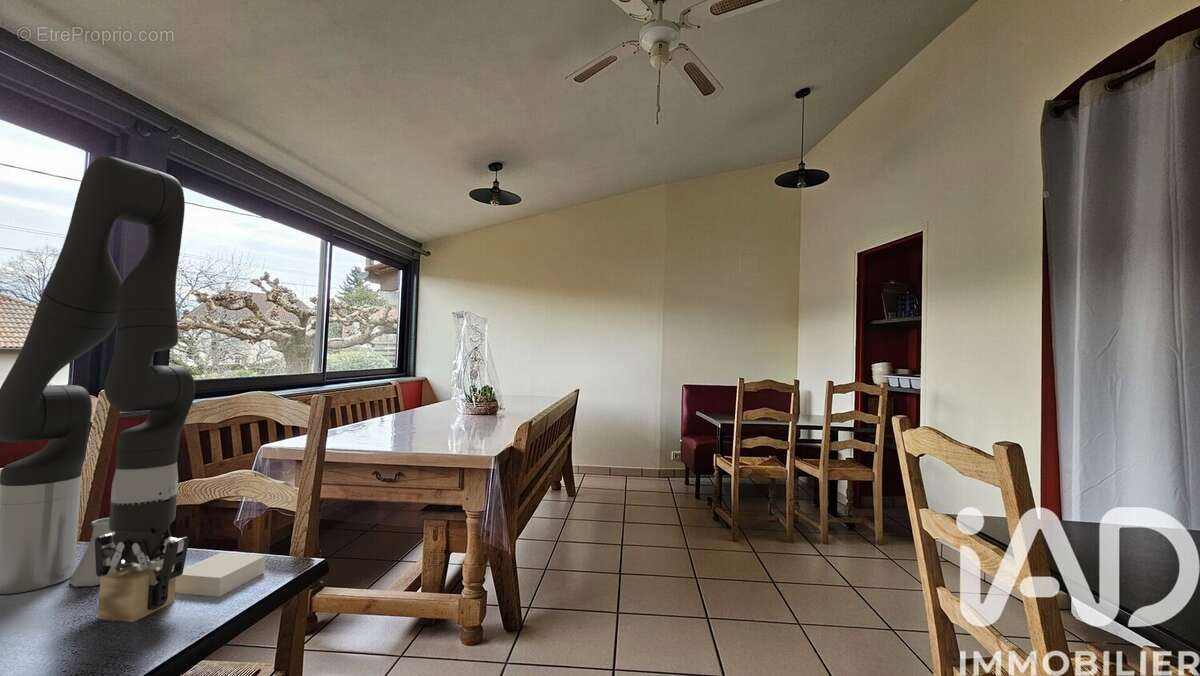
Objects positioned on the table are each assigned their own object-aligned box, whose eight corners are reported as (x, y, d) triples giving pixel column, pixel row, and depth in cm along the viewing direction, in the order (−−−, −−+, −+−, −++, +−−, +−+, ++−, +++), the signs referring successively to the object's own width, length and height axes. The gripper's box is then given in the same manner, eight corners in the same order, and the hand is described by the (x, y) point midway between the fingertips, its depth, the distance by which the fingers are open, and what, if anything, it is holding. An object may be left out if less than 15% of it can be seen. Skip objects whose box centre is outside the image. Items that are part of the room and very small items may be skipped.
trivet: (170, 592, 79) (171, 573, 79) (219, 569, 88) (220, 552, 88) (219, 596, 78) (220, 577, 78) (264, 573, 87) (265, 556, 87)
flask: (90, 590, 79) (95, 529, 80) (57, 585, 81) (62, 525, 81) (140, 572, 87) (144, 515, 87) (109, 568, 88) (113, 512, 89)
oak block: (97, 618, 71) (100, 577, 72) (140, 598, 77) (143, 560, 77) (133, 622, 70) (136, 580, 71) (174, 601, 76) (176, 563, 77)
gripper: (76, 498, 72) (67, 614, 71) (161, 503, 70) (153, 622, 69) (130, 486, 79) (123, 590, 78) (209, 490, 78) (202, 597, 77)
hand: (137, 605), depth 74 cm, fingers closed on oak block, 6 cm apart
